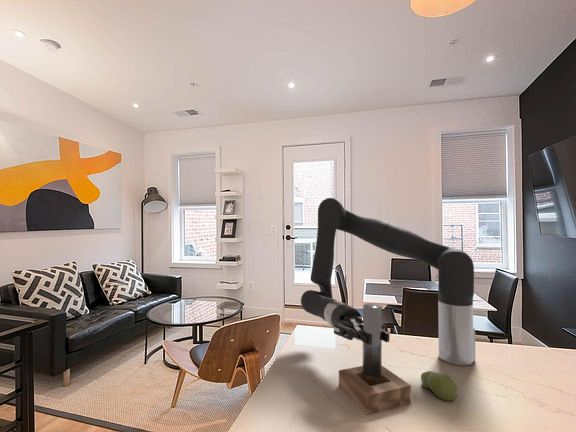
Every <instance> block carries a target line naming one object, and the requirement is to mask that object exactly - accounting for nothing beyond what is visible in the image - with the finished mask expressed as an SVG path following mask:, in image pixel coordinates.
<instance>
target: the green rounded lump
mask: <svg viewBox="0 0 576 432" xmlns="http://www.w3.org/2000/svg"><path fill="white" fill-rule="evenodd" d="M420 379H421V385H422V388H425V389H430V390H431V391H432V392H433V394H435V395H436V396H437V398H439V399H441V400H443V401H447V402H448V401H453V400H455V399H456V398H457V397H458V395H459V387H458V384H457V382H456V380H455V379H454V378H453V377H451V376H449V375H447V374H445V373H441V372H435V371H431V370H428V371H425V372H422V373H421V374H420Z"/></svg>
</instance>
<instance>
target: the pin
mask: <svg viewBox="0 0 576 432" xmlns="http://www.w3.org/2000/svg"><path fill="white" fill-rule="evenodd" d="M362 309H363V310H362V311H363V312H362V314H363V315H362V317H363V331H364V332H366V333H368V334H370V335H371V336H372V344H371V345H367V344H366V343H364V342H362V366H363V373H364V374H365V375H367V376H371V377H378V376H380V375H381V365H382V358H383V357H382V345H383V344H382V341H383V340H382V323H383V306H382V305H380V304H377V303H364V304H363V308H362Z"/></svg>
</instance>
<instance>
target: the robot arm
mask: <svg viewBox="0 0 576 432" xmlns="http://www.w3.org/2000/svg"><path fill="white" fill-rule="evenodd" d="M337 230H338V231H341V232H345V233H348V234H350V235H353V236H355V237H357V238H359V239H360V240H363V241H365V242H366V243H368V244H371V245H372V246H375V247H376V248H379V249H381V250H384V251H386V252H389V253H391V254H394V255H397V256H400V257H405V258H409V259H413V260H416V261H420V262H422V263H424V264H427V265H428V266H431V267H432V268H434V269H436V270H438V273H437V274H438V276H437V277H438V280H437V281H438V290H437V291H438V292H437V295H438V306H437V307H438V308H437V309H438V358H440V360H442V361H443V362H446V363H448V364H451V365H454V366H455V365H457V366H464V367H465V366H471V365H473V363H474V362H475V361H476V329H475V327H474V294H475V268H474V267H475V266H474V261H473V260H472V258H471V257H470V255H469V254H467V252H465V251H464V250H461V249H459V248H455V247H452V246H447V245H443V244H441V243H437V242H434V241H430V240H428V239H427V238H424V237H422V236H420V235H418V234H417V233H414V232H413V231H410V230H408V229H406V228H404V227H402V226H399V225H397V224H394V223H391V222H389V221H386V220H383V219H379V218H371V217H364V216H361V215H359V214H356V213H354V212H352V211H350V210H348V209H346V208H345V207H344V206H343V204H342V203H341V202H340V200H338V199H336V198H334V197H329V198H325V199H323V200H322V201H321V202H320V204H319V205H318V208H317V232H316V234H317V235H316V244H315V249H314V255H313V262H312V266H311V272H310V273H311V274H310V281H311V282H312V283H313V284H316V285H317V286H318V287H319V290H320V291H318V290H312V289H309V290H305V291H304V292H303V293H302V295H301V298H300V305H301V307H302V309H303V311H305V312H306V313H308V314H310V315H313V316H316V317H318V318H321V319H322V320H324V321H325V322H327V324H328V325H330V326H331V327H332V328H333V334H334V335H337V336H339V337H341V338H344V339H346V340H349V341H353V340H354V339H355V340H356V341H361V342H362V343H363V342H364V343H366V344H367V345H371V344H372V336H371V335H370V334H368V333H366V332H364V331H363V315H361V313H360V312H359V311H358V309H357V308H354V307H352V306H350V305H348V304H346V303H345V302H341V301H339V300H337V299H335V298H333V292H332V291H333V290H332V275H333V270H334V269H333V268H334V261H335V241H336V240H335V238H336V233H337ZM382 341H383V342H385V343H390V333H389V332H388V331H386V324H384V322H382Z"/></svg>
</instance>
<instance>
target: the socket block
mask: <svg viewBox="0 0 576 432" xmlns="http://www.w3.org/2000/svg"><path fill="white" fill-rule="evenodd" d="M338 388H339V389H341V390H342V391H343V393H345V394H346V395H347V396H348V397H349V398H350V399H351V401H353V402H354V404H356V406H358V407H359V408H360V409H361V411H363V412H364V413H365V415H370V414H373V413H378V412H381V411H385V410H389V409H393V408H396V407H401V406H403V405H408V404H411V402H412V398H411V397H412V385H411V384H410V383H408V382H407V381H405V380H404V379H403V378H401V377H399V376H398V375H396V373H393V371H391V370H389V369H388V368H387V367H385V366H383V365H382V364H381V375H380V376H378V377H371V376H367V375H365V374H364V373H363V365H360V366H355V367H349V368H344V369H339V370H338Z"/></svg>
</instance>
